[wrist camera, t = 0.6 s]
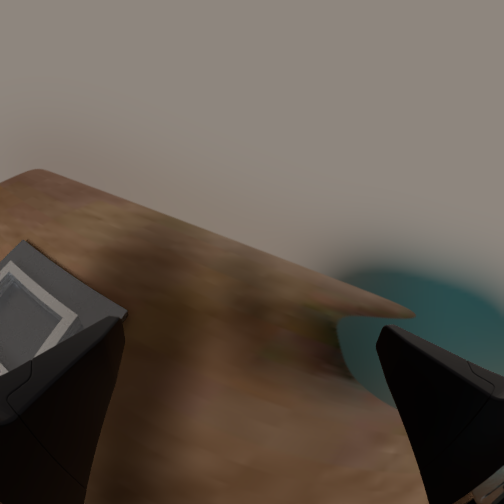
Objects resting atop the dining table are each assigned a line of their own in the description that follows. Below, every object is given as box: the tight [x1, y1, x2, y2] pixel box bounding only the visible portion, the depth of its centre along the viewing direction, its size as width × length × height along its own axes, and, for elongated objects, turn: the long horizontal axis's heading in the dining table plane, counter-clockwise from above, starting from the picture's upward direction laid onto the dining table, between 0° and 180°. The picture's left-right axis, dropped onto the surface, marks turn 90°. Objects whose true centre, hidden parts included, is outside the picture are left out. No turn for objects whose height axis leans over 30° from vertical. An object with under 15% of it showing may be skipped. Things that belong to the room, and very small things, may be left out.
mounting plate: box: [0, 240, 128, 376], centre depth 15 cm, size 16×16×2 cm
